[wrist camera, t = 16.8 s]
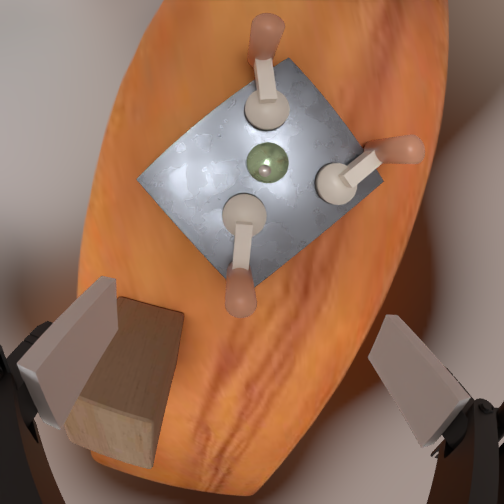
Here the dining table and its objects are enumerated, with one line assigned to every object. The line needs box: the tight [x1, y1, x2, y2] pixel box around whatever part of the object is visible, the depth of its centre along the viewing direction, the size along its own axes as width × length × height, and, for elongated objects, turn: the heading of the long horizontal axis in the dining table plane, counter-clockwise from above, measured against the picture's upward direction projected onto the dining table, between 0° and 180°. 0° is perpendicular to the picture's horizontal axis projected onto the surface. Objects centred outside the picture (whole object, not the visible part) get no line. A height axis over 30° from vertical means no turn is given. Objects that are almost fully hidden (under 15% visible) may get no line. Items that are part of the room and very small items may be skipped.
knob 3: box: [316, 135, 425, 205], centre depth 27 cm, size 11×5×9 cm, turn 130°
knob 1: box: [222, 194, 267, 318], centre depth 29 cm, size 11×5×9 cm, turn 175°
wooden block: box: [64, 297, 184, 469], centre depth 28 cm, size 10×10×20 cm
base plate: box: [137, 58, 384, 287], centre depth 32 cm, size 24×20×2 cm
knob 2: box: [245, 13, 290, 130], centre depth 24 cm, size 11×5×9 cm, turn 6°
